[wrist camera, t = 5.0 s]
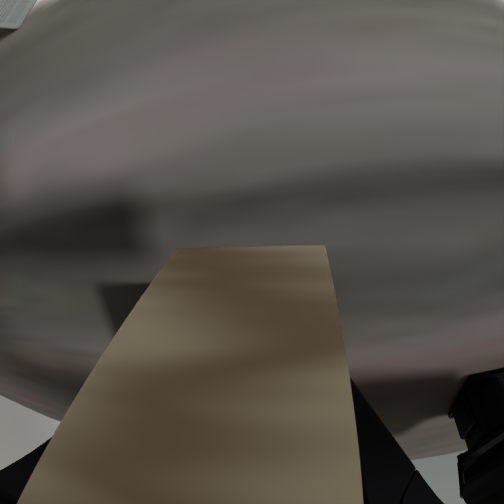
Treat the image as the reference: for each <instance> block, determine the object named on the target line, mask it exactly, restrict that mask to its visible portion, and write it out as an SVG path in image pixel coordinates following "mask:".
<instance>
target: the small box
mask: <svg viewBox="0 0 504 504" xmlns="http://www.w3.org/2000/svg"><path fill="white" fill-rule="evenodd" d="M36 1H37V0H0V28H8V29H18V28H19V27H20V26H21V24H22V22H23V21H24V19H25V17H26V16H27V14H28V13H29V11H30V10H31V8H32V7H33V5H34V3H35V2H36Z"/></svg>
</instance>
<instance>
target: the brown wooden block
mask: <svg viewBox="0 0 504 504" xmlns="http://www.w3.org/2000/svg"><path fill="white" fill-rule="evenodd" d="M17 504H363V491H362V478H361V467H360V457H359V447H358V438H357V429H356V421H355V413H354V405H353V398H352V390H351V384H350V377H349V370H348V364H347V357H346V351H345V345H344V339H343V334H342V328H341V322H340V317H339V311H338V306H337V301H336V296H335V291H334V286H333V281H332V276H331V271H330V266H329V262H328V257H327V252H326V248H325V245H309V246H260V247H216V248H176V249H175V250H174V252H173V253H172V254H171V256H170V257H169V258H168V260H167V261H166V263H165V264H164V265H163V267H162V268H161V270H160V271H159V272H158V274H157V275H156V276H155V278H154V279H153V281H152V282H151V284H150V285H149V286H148V288H147V289H146V291H145V292H144V293H143V295H142V296H141V298H140V299H139V301H138V302H137V304H136V305H135V306H134V308H133V309H132V311H131V312H130V314H129V315H128V317H127V318H126V320H125V321H124V323H123V324H122V326H121V327H120V329H119V330H118V332H117V333H116V335H115V336H114V338H113V339H112V341H111V342H110V344H109V345H108V347H107V348H106V350H105V351H104V353H103V354H102V356H101V358H100V359H99V361H98V362H97V364H96V365H95V367H94V368H93V370H92V372H91V373H90V375H89V376H88V378H87V380H86V381H85V383H84V384H83V386H82V388H81V389H80V391H79V393H78V394H77V396H76V397H75V399H74V401H73V402H72V404H71V406H70V407H69V409H68V411H67V412H66V414H65V416H64V418H63V419H62V421H61V423H60V425H59V426H58V428H57V430H56V431H55V433H54V435H53V437H52V438H51V440H50V442H49V444H48V445H47V447H46V449H45V451H44V453H43V454H42V456H41V458H40V460H39V462H38V464H37V465H36V467H35V469H34V471H33V473H32V475H31V477H30V479H29V481H28V483H27V484H26V486H25V488H24V490H23V492H22V494H21V496H20V498H19V500H18V502H17Z"/></svg>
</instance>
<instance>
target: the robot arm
mask: <svg viewBox="0 0 504 504" xmlns="http://www.w3.org/2000/svg"><path fill="white" fill-rule="evenodd" d="M350 384H351V390H352V398H353V405H354V413H355V421H356V429H357V438H358V447H359V457H360V467H361V478H362V491H363V504H444V503H443V502H442V501H441V500H440V499H439V498H438V497H437V496H436V494H435V493H434V492H433V491H432V489H431V488H430V487H429V485H428V484H427V483H426V481H425V480H424V479H423V477H422V476H421V474H420V473H419V472H418V470H415V466H414V465H413V464H412V462H411V461H410V459H409V458H408V457H407V455H406V454H405V452H404V451H403V450H402V448H401V447H400V446H399V444H398V443H397V441H396V440H395V439H394V437H393V436H392V434H391V433H390V432H389V430H388V429H387V428H386V426H385V425H384V423H383V422H382V421H381V419H380V418H379V417H378V415H377V414H376V412H375V411H374V410H373V408H372V407H371V405H370V404H369V403H368V401H367V400H366V399H365V397H364V396H363V394H362V393H361V392H360V390H359V389H358V388H357V386H356V385H355V383H354V382H353V381H352V379H351V378H350ZM448 417H449V418H454V420H455V423H456V426H457V429H458V431H459V435H460V438H461V439H462V440H464V439H465V442H466V445H467V448H468V450H467V451H466V452H464V453H461V454H460V455H458V456H457V458H458V463H457V464H458V474H459V485H460V497H461V498H463V499H464V501H465V502H466V504H504V369H502V370H497V371H493V372H488V373H483V374H478V375H473V376H470V377H469V378H468V379H467V380H466V382H465V384H464V386H463V388H462V390H461V392H460V394H459V395H458V397H457V399H456V401H455V403H454V404H453V406H452V408H451V410H450V411H449V413H448ZM51 438H52V437H51ZM51 438H50V439H49V440H47V441H46V442H45V443H43V444H42V445H40V446H39V447H38V448H36V449H35V450H33V451H32V452H31V453H29V454H27V455H26V456H24V457H22V458H21V459H19V460H18V461H16V462H15V463H12V464H11V465H9V466H7V467H5V468H4V469H2V470H0V504H17V502H18V500H19V498H20V496H21V494H22V492H23V490H24V488H25V486H26V484H27V483H28V481H29V479H30V477H31V475H32V473H33V471H34V469H35V467H36V465H37V464H38V462H39V460H40V458H41V456H42V454H43V453H44V451H45V449H46V447H47V445H48V444H49V442H50V440H51Z"/></svg>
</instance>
